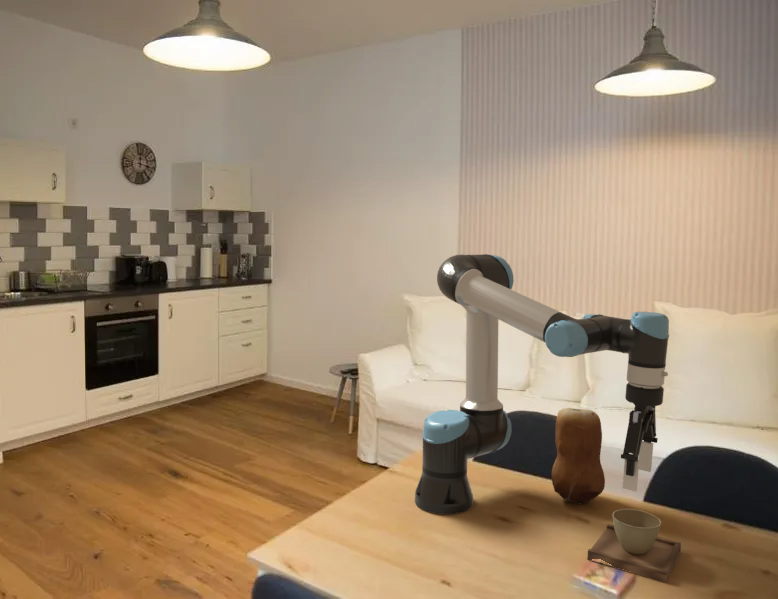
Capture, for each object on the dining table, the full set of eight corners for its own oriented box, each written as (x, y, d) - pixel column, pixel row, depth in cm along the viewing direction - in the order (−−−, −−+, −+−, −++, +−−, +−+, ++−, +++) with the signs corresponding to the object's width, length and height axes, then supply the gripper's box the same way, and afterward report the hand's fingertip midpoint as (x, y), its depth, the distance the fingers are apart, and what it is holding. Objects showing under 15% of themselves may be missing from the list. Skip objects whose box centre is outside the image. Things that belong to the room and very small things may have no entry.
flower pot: (663, 562, 136) (665, 530, 136) (614, 557, 138) (615, 525, 138) (654, 541, 146) (656, 510, 145) (607, 536, 148) (609, 506, 147)
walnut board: (587, 559, 140) (587, 550, 140) (607, 532, 153) (608, 524, 153) (666, 582, 131) (666, 572, 131) (680, 551, 145) (680, 542, 144)
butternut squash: (575, 487, 181) (579, 400, 179) (614, 505, 170) (619, 412, 167) (539, 497, 174) (543, 406, 171) (577, 516, 162) (581, 418, 160)
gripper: (650, 399, 126) (642, 503, 129) (674, 376, 147) (667, 466, 149) (611, 392, 130) (603, 493, 133) (640, 371, 151) (633, 459, 153)
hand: (637, 479), depth 141 cm, fingers open, 13 cm apart
